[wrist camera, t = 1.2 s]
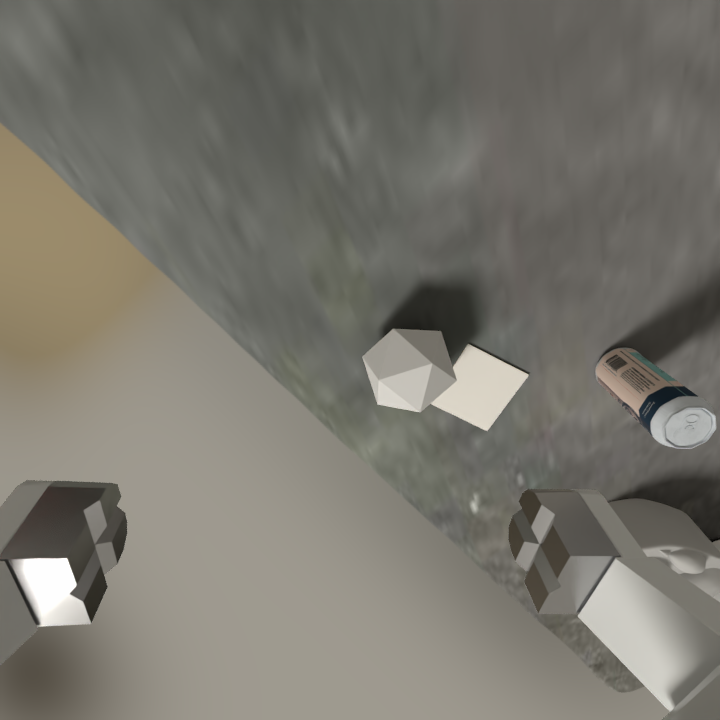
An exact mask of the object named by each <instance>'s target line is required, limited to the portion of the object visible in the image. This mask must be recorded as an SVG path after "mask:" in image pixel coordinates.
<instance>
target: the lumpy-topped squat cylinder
mask: <svg viewBox="0 0 720 720" xmlns="http://www.w3.org/2000/svg"><path fill="white" fill-rule="evenodd" d="M608 503H609V505H610V506H611V508H612V509H613V510H614V512H615V513H616V514H617V516H618V517H619V519H620V520H621V521H622V523H623V524H624V525H625V527H626V528H627V530H628V531H629V532H630V534H631V535H632V536H633V538H634V539H635V541H636V542H637V543H638V545H639V546H640V547H641V549H642V550H643V552H644V553H645V554H646V556H647V557H655V558H656V559H658V560H659V561H661V562H662V563H664V564H665V565H667V566H668V567H669V568H671V569H672V570H674V571H675V572H677V573H678V574H680V575H681V576H682V577H684V578H685V579H687V580H688V581H690V582H691V583H693V584H694V585H696V586H697V587H698V588H700V589H701V590H703V591H704V592H706V593H707V594H709V595H710V596H711V597H714V596H715V595H716V594H717V593H719V592H720V551H719V550H718V549H717V548H716V547H715V546H714V545H713V543H712V542H711V541H710V540H709V539H708V538H707V537H706V535H705V534H704V533H703V532H702V531H701V530H700V528H699V527H698V526H697V525H696V524H695V523H694V522H693V520H692V519H691V518H690V517H689V516H688V515H687V514H686V513H684V512H683V511H681V510H678V509H676V508H673V507H671V506H668V505H665V504H662V503H658V502H655V501H650V500H646V499H638V498H634V499H624V500H618V501H613V502H608Z"/></svg>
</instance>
